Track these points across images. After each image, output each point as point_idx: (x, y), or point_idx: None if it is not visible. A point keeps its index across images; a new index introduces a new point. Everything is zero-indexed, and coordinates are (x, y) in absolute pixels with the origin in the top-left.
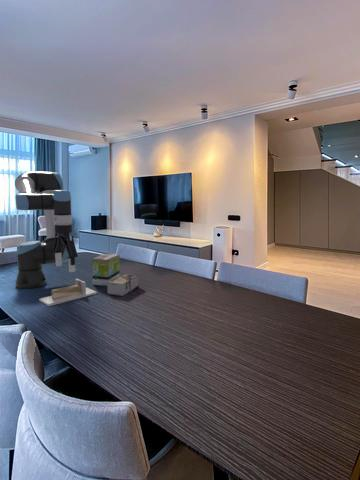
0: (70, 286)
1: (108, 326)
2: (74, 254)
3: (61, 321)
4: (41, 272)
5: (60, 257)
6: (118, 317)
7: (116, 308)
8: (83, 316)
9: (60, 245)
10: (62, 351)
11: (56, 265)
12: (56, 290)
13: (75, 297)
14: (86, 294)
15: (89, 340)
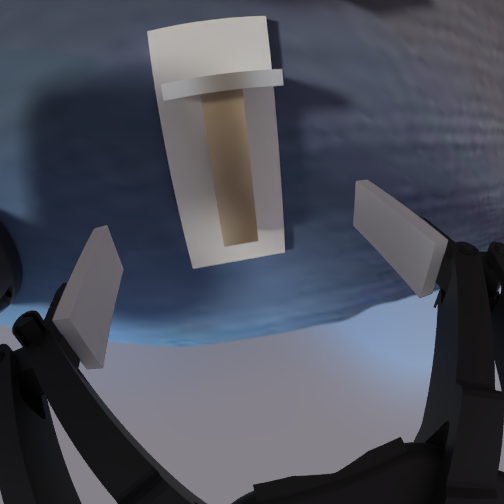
0: (223, 147)
1: (499, 168)
2: (479, 268)
3: None
4: None
5: (90, 287)
6: (490, 119)
7: (454, 76)
8: (436, 183)
9: (147, 454)
10: None
11: (121, 275)
12: (250, 229)
13: (277, 133)
14: None
15: (500, 223)
